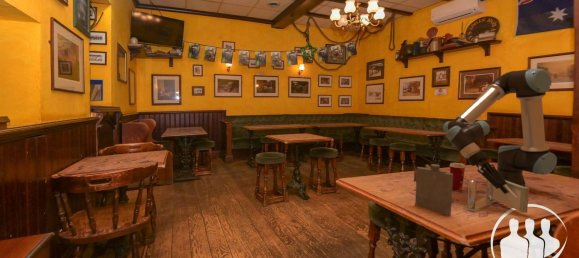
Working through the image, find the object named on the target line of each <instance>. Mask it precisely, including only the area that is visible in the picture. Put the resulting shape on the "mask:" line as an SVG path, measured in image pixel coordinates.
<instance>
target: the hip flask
mask: <svg viewBox="0 0 579 258" xmlns="http://www.w3.org/2000/svg"><path fill="white" fill-rule="evenodd" d="M430 167H431V169H429V168H426V167H422V166H417V167H416V170H417V178H416V182H415V203H414V205H415V206H416V207H419V208H423V209H426V210H430V211H431V212H435V213H438V214H440V215H443V216H446V217H450V216H451V215H452V203H453V201H452V200H453V199H452V198H453V190H452V185H453V174H452V173H450V172H448V171H445V170H441V169H440V167H441V165H440V164H436V163H434V164H433V163H432V164H430Z"/></svg>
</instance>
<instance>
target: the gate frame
mask: <svg viewBox="0 0 579 258" xmlns="http://www.w3.org/2000/svg"><path fill="white" fill-rule="evenodd" d="M477 184H478V183H477V180H475V179H469V180H468V185H467V197H466V198H467V200H466V205H464V206H463V207H462V209H463V210H467V211H470V212H473V213H477V212H478V211H481V210H482V209H484V208H487V207H489V206H490V205H492V204H495V203H497V202H498V201H496V200H494V199H492V198H493V185H492V184H491V183H490V182H489V181H488V180H487V179H486V192H485V194H486V196H484V197H482V198H481V197H480V198H479V199H476V197H477V196H476V195H477V194H476V193H477Z"/></svg>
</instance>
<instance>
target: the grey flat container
mask: <svg viewBox="0 0 579 258" xmlns="http://www.w3.org/2000/svg"><path fill="white" fill-rule="evenodd" d="M425 168H429V169H431V165H430V164H428V163H427V164H425ZM413 171H414V172H413V182H415V181H416V178H417V168H416V169H414V170H413Z"/></svg>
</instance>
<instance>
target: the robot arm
mask: <svg viewBox="0 0 579 258" xmlns="http://www.w3.org/2000/svg"><path fill="white" fill-rule="evenodd" d="M551 86H552V77H551V75H550V74H549V72H548V71H546V70H545V69H542V68H529V69H521V70H520V69H519V70H511V71H508V72H505V73H503V74H501V75H500V76H498V77H496V78H495V79H494V80H493V81H492V82H490V84H488V85H487V86H486V89H485V91H484V92H482V93H481V94H480V95H479V96H478V97H477V98H476V99H475V100H474V101H472V103H471V104H470V105H468V106H467V107H466V108H465V109H464V110H463V111H462V112H461V113H460V114H459V115H458V116H457V117H456V118H454V119H453V120H450V121H446V122H444V124H443V126H442V130H443V132H444V133H445V137H446V138H447V139H448V141H449V142H450V143H451V144H452V145H453V146H454V147H455V148H456V150H457V151H459V154H461V156H462V157H464V158H465V159H466V161H467V162H468V163H469V164H470V165H471V166H473V167H474V166H475V167H476V168H477V172H478V173H479V174H480V175H481V176H483V178H484V179H486V181H487V180H488V181H489V182H490V183H491V184H492V185H493V186H494V187H496V189H498V188H499V189H500V190H501V191H502V192H503V193H504V194H505V196H506V197H507V198H508V199H509V200H510V201H512V200H514V199H516V198H518V197H517V196H516V195H515V194H514V193H513V192H512V191H511V190H510V189H509V187H508V186H507V185H506V184H507V182H506V181H509V182H512V183H515V184H518V185H520V186H523V187H527V185H526V182H525V177H524V175H523V171H524V172H528V173H532V174H534V175H544V176H545V175H549V174H550V173H552V172H553V171H554V169H555V168H556V166H557V162H558V158H557V155H555V154H554V153H553V152H551V151H550V149H551V148H550V147H549V146H548V145H547V144H546V134H545V120H544V108H543V97H545V96H546V92H548V91H549V90H550V89H551ZM509 94H510V95H511V94H515V98H516V99H517V100H519V101H520V104H519V105H520V112H521V113H520V114H521V116H520V117H521V126H522V127H521V128H522V139H523V145H501V146H499V147H498V150H497V151H498V152H497V165H496V166H497V168H496V167H495V165H494V163H493V164H491V163H490V162H489V161H487V160H486V159H487V158H488V156H487V155H486V153H485V152H484V151H482V150H481V148H480V147H479V146H478V144H476V143H475V142H474V141H476V140H479V139H480V138H483V137H485V136H486V135H488V134H489V133H490V131H491V130H490V129H491V128H490V124H488V122H486V121H485V120H482V119H481V120H478V119H479V118H480V117H481V116H482V115H483V114H484V113H485V112H486V111H487V110H488V109H489V108H491V107H492V105H494V104H495V103H496V102H497V101H498V100H499V99H504V98H505V96H507V95H509ZM477 120H478V121H477ZM505 180H506V181H505Z"/></svg>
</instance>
